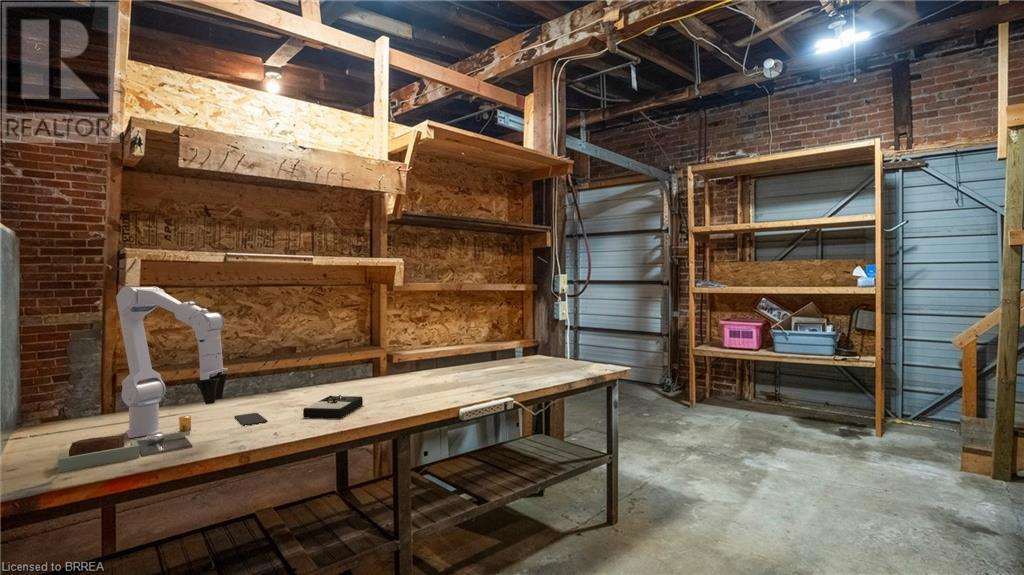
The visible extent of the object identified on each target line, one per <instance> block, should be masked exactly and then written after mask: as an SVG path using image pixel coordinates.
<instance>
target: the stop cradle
mask: <svg viewBox="0 0 1024 575" xmlns="http://www.w3.org/2000/svg"><path fill="white" fill-rule="evenodd" d="M137 441H138V440H133V441H130V445H129V446H124V447H122V448H116V449H110V450H105V451H99V452H93V453H87V454H82V455H76V456H70V457H69V456H66V453H65V452H62V453H61V452H60V453H58V454H57V457H58V458H57V473H63V472H69V471H73V470H79V469H84V468H88V467H94V466H100V465H105V464H112V463H115V462H120V461H126V460H130V459H131V460H132V459H136V458H140V450H139V445H138V443H137Z"/></svg>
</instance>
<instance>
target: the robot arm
mask: <svg viewBox="0 0 1024 575" xmlns="http://www.w3.org/2000/svg"><path fill="white" fill-rule="evenodd" d="M115 299H116V305H117V309H118V315H119V322H120V327H121V332H122V338H123V342H124V343H123V344H124V348H125V355H126V361H127V364H128V369H129V374H128V375H127V376H126V377H125V378H124V379H123V380H122V381H121V384H122V385H121V386H122V389H121V395H120V396H121V399H122V401H123V403H124V404H126V406H127V407H128V429H126V430H125V433H126V436H127V437H128V438H129V439H133V438H138V437H147V435H150V434H154V433H163V430H162V429H161V428H160V425H159V424H160V420H159V419H160V416H159V415H160V411H159V410H160V408H159V407H160V405H159V404H160V402H161V401H162V398H163V397H164V396H165V394H166V390H167V388H166V384H165V382H164V381H163V380H162V375H161V373H159V372H157V370H154V369H152V362H151V361H152V360H151V357H150V350H149V346H148V341H147V335H146V330H145V325H144V318H145V317H146V316H147V315H148V314H150V313H151V312H152V311H154V310H155V309H156V308H157V307H160V308H163V309H164V310H167V311H168V312H171V313H173V314H174V317H175V319H177V320H179V321H180V322H182V323H184V324H186V325H189V326H190V327H191V329H192V331H193V332H194V333H195V338H196V340H197V344H198V347H197V348H198V360H199V379H196V380H194V382H195V384H196V386H197V388H198V389H199V390H200V392H201V395H202V399H203V401H204V404H205V405H212V404H215V403H216V402H215V401H216V400H221V399H223V397H224V396H223V395H224V391H225V390H224V389H225V384H226V380H227V379H228V377H229V373H228V372H227V371H228V368H229V367H224V363H223V362H224V360H223V349H222V337H221V336H222V334H221V331H223V329H224V327H225V318H224V316H223V315H222V314H221V313H220V312H217V311H214V312H210V311H208V309H207V308H202V307H200V306H198V305H196V302H194V301H184V302H181V301H179V300H178V299H176V298H175V297H173V296H171V295H169V294H167V293H166V292H165V290H164V288H163V289H162V288H159V287H158V286H124V287H122V288H121V289H120V290H119V291H118V292H117V295H116V296H115ZM225 372H226V373H225Z"/></svg>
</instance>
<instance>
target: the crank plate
mask: <svg viewBox="0 0 1024 575" xmlns="http://www.w3.org/2000/svg"><path fill="white" fill-rule="evenodd" d="M136 441H137V443H138V445H139V453H140V454H141V456H142V457H148V456H150V455H157V454H163V452H164V453H167V452H169V453H170V452H174V451H179V450H183V448H185V449H189V448H188V447H190V448H193V444H192V443H191V441H190V440H188V438H187V436H184V437H179V438H173V439H167V440H163V441H160V442H155V443H148V442H147V438H145V439H140V440H136ZM173 450H174V451H173Z"/></svg>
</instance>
